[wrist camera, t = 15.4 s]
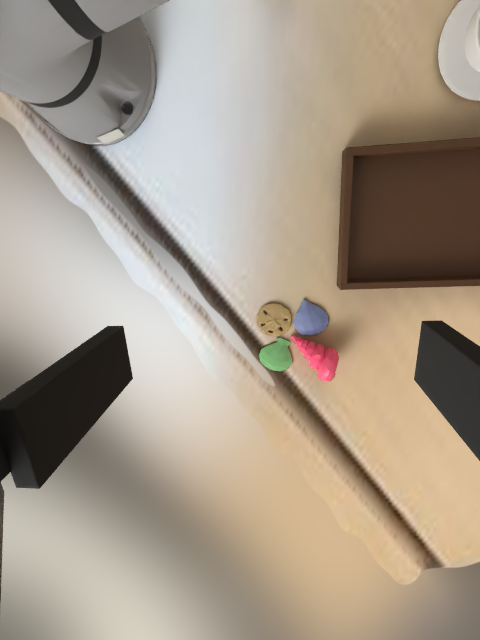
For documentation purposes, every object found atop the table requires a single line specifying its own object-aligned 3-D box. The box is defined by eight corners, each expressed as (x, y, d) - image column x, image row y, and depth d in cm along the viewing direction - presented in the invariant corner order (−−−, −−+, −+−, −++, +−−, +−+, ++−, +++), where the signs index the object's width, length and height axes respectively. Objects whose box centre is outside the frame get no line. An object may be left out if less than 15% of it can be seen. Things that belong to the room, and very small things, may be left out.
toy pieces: (351, 310, 42) (360, 321, 38) (326, 382, 46) (331, 399, 42) (263, 289, 43) (262, 297, 39) (245, 362, 47) (242, 377, 42)
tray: (342, 151, 37) (346, 147, 34) (573, 133, 34) (594, 128, 32) (336, 285, 42) (340, 289, 39) (537, 279, 39) (553, 283, 37)
